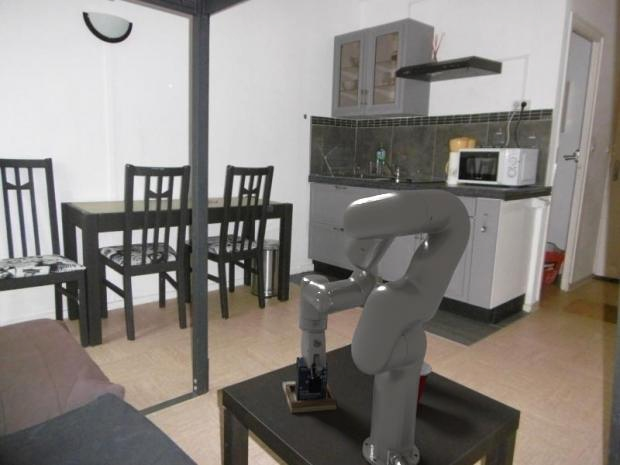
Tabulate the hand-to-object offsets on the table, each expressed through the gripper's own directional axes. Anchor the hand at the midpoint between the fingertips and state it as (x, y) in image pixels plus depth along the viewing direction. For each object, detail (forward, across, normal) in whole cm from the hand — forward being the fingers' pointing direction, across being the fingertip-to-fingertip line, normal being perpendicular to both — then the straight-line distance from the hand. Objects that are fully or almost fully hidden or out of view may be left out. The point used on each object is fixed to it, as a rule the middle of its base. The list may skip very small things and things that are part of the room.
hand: (310, 382), depth 121 cm
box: (+4, 0, 0) cm, 4 cm away
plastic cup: (+5, -6, -26) cm, 27 cm away
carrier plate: (+5, +2, 0) cm, 6 cm away
